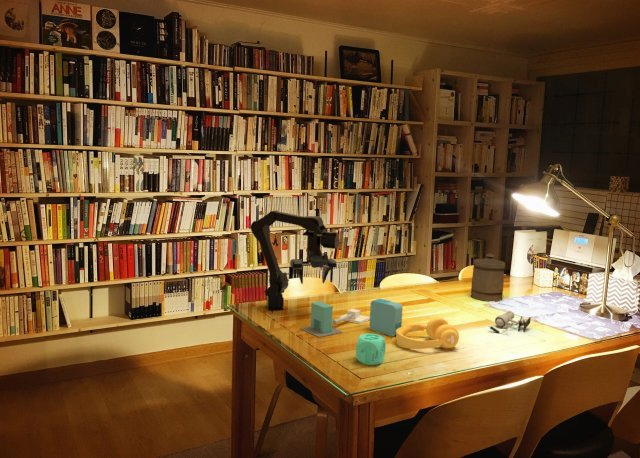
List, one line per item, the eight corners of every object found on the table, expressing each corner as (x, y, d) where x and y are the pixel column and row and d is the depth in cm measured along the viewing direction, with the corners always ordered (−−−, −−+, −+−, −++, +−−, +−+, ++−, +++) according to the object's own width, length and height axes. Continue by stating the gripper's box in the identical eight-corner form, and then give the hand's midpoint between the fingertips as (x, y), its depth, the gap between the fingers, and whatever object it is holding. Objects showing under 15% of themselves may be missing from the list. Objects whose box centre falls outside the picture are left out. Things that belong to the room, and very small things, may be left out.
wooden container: (505, 297, 274) (509, 253, 271) (497, 303, 261) (501, 257, 258) (475, 292, 281) (479, 249, 278) (466, 298, 269) (470, 253, 266)
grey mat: (300, 328, 213) (300, 327, 213) (322, 324, 220) (322, 323, 220) (318, 337, 204) (319, 336, 203) (342, 332, 210) (342, 331, 210)
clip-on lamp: (510, 344, 213) (532, 326, 224) (511, 330, 210) (534, 312, 222) (482, 334, 221) (506, 316, 232) (483, 320, 219) (507, 303, 230)
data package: (401, 334, 210) (403, 304, 209) (394, 337, 207) (395, 306, 205) (376, 327, 218) (377, 297, 217) (369, 329, 215) (370, 299, 213)
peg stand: (323, 325, 218) (324, 315, 217) (349, 314, 234) (349, 305, 233) (345, 330, 212) (345, 320, 212) (370, 319, 228) (370, 310, 228)
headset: (389, 336, 208) (391, 313, 206) (442, 336, 211) (445, 313, 210) (404, 354, 190) (407, 328, 189) (462, 354, 194) (465, 329, 193)
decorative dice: (355, 362, 180) (356, 339, 179) (362, 354, 188) (363, 332, 187) (378, 367, 178) (380, 343, 176) (385, 358, 185) (386, 335, 184)
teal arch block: (310, 327, 213) (311, 302, 212) (318, 326, 216) (319, 301, 215) (323, 333, 207) (324, 307, 206) (331, 331, 210) (332, 306, 208)
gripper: (296, 250, 220) (295, 288, 222) (341, 249, 224) (339, 287, 227) (290, 245, 230) (289, 282, 232) (333, 245, 235) (331, 281, 237)
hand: (312, 283), depth 232 cm, fingers open, 9 cm apart
